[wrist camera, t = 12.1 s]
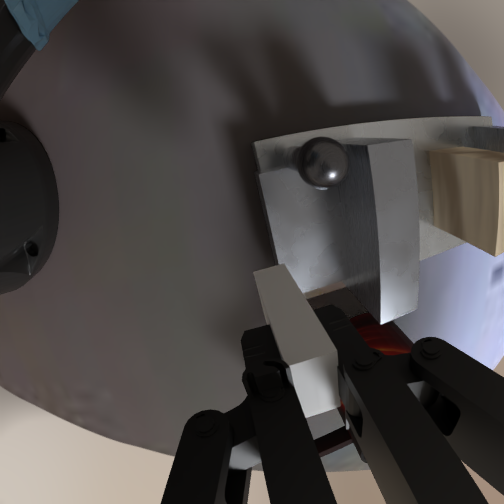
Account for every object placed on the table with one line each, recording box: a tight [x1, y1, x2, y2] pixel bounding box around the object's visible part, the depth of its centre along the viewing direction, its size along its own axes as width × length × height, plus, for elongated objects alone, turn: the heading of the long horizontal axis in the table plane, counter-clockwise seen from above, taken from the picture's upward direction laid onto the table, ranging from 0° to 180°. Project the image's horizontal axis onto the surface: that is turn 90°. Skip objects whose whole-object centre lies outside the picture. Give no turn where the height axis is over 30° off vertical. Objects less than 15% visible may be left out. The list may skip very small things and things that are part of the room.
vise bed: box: [251, 116, 504, 299], centre depth 20 cm, size 26×13×8 cm, turn 103°
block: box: [429, 147, 504, 257], centre depth 19 cm, size 5×7×8 cm
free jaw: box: [254, 137, 420, 325], centre depth 18 cm, size 8×12×8 cm
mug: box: [314, 313, 414, 463], centre depth 24 cm, size 10×14×12 cm
